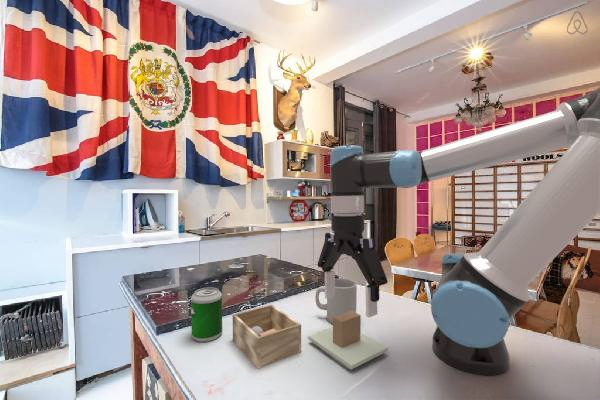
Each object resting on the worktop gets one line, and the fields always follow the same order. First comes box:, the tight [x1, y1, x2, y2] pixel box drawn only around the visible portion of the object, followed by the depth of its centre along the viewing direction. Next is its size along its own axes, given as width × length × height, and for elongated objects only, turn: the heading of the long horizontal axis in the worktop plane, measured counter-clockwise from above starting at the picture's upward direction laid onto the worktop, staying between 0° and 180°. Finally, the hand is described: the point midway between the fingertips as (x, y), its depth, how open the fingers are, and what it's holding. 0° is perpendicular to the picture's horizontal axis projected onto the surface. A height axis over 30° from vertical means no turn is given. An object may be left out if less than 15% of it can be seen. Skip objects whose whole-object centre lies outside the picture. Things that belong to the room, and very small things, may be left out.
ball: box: [252, 326, 264, 336], centre depth 71 cm, size 4×4×4 cm
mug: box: [315, 278, 358, 326], centre depth 85 cm, size 12×8×11 cm
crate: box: [232, 304, 302, 369], centre depth 70 cm, size 14×11×7 cm
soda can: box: [190, 287, 223, 343], centre depth 74 cm, size 8×8×12 cm
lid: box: [307, 311, 389, 370], centre depth 68 cm, size 15×12×8 cm
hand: (349, 305), depth 68 cm, fingers open, 13 cm apart
